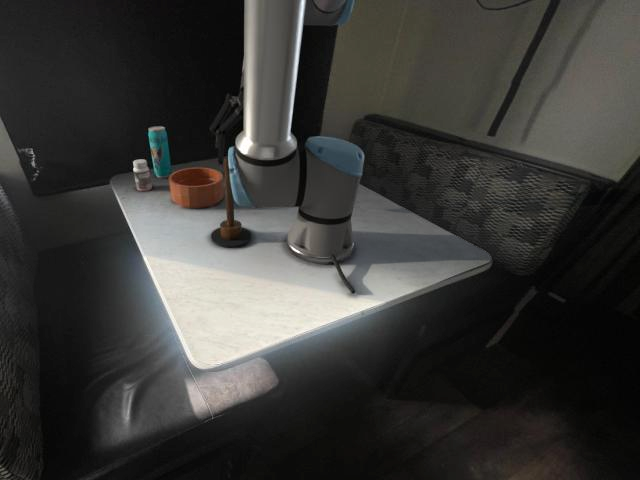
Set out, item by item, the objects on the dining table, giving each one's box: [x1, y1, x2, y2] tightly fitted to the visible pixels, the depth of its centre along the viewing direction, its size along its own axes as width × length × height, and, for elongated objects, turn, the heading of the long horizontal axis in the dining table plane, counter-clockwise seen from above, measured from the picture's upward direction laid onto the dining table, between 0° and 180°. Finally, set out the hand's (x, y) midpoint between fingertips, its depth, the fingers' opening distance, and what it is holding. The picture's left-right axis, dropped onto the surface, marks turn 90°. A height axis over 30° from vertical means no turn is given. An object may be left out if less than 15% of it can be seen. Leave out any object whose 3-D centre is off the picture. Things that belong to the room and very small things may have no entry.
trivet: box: [210, 226, 252, 249], centre depth 82 cm, size 10×10×1 cm
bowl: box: [168, 167, 225, 209], centre depth 98 cm, size 16×16×6 cm
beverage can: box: [148, 125, 172, 179], centre depth 110 cm, size 6×6×15 cm
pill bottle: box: [132, 158, 153, 191], centre depth 104 cm, size 5×5×8 cm
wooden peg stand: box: [219, 157, 243, 240], centre depth 76 cm, size 5×5×18 cm
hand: (246, 165), depth 84 cm, fingers open, 13 cm apart
